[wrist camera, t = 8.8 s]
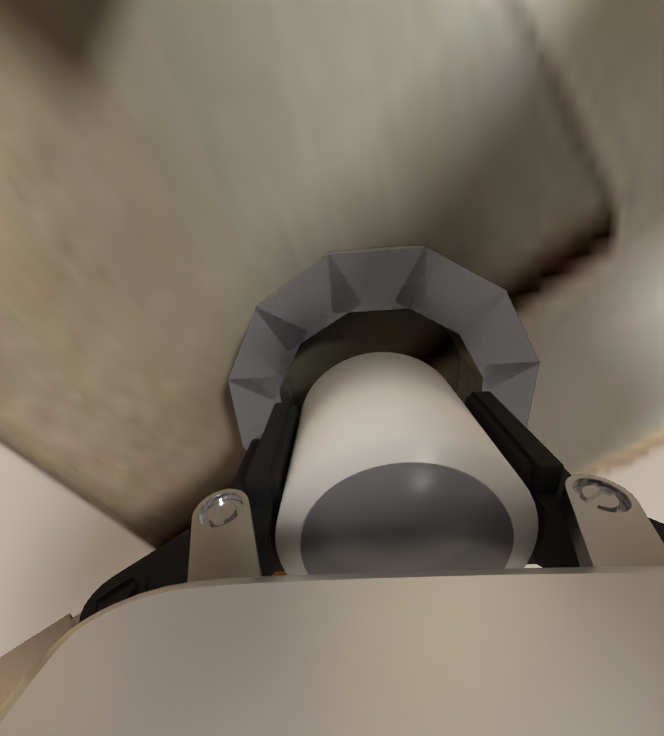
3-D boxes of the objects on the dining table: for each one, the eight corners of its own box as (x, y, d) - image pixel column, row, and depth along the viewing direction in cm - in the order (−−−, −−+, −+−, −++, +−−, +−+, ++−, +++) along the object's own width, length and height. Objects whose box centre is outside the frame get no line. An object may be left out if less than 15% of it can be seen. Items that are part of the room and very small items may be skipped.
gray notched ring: (523, 235, 12) (565, 235, 10) (487, 474, 17) (509, 512, 15) (226, 259, 13) (200, 264, 11) (270, 482, 18) (259, 519, 15)
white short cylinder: (465, 346, 11) (569, 434, 6) (452, 483, 13) (519, 627, 8) (291, 357, 11) (252, 449, 6) (308, 490, 13) (291, 632, 8)
